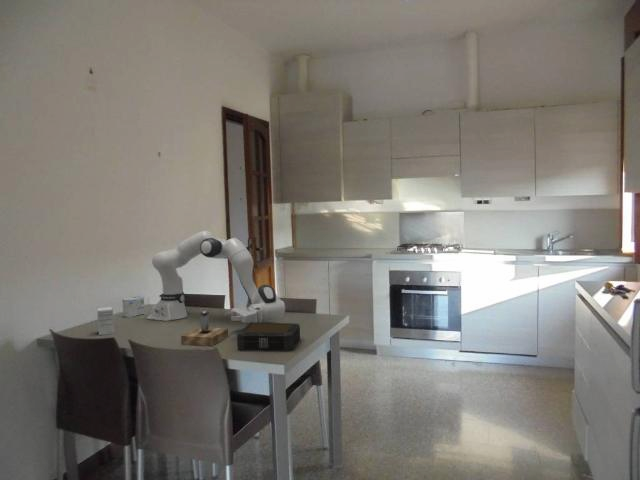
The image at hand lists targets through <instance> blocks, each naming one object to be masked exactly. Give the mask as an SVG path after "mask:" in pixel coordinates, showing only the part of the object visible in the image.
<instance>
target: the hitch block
mask: <svg viewBox="0 0 640 480" xmlns="http://www.w3.org/2000/svg"><path fill="white" fill-rule="evenodd" d="M227 338H229V328H228V327H227V328H226V327H209V333H208V334H202V333H201V326H198V327H196V328H193V330H189V331H188V332H186V333H183V334H182V335H180V342H181V345H183V346H186V345H187V346H202V347H204V346H205V347H213V346H215V345H216V344H219V343H221V342H222V341H223V339H224V340H226V339H227ZM218 342H219V343H218Z"/></svg>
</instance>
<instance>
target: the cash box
mask: <svg viewBox="0 0 640 480" xmlns="http://www.w3.org/2000/svg"><path fill="white" fill-rule="evenodd" d="M300 340H301V325H300V323H291V322H290V323H289V322H288V323H286V322H285V323H283V322H280V323H279V322H278V323H277V322H276V323H274V322H261V323H257V322H254V323H247V325H245V327H244V328H242V329H241V330H240V331H239V332H237V334H236V342H237V343H236V345H237V350H238V351H252V350H262V351H263V352H266V351H267V352H291V350H292V351H293V350H294V348H295V347H296V346H297V344H298V343H299V341H300ZM262 351H261V352H262Z"/></svg>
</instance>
